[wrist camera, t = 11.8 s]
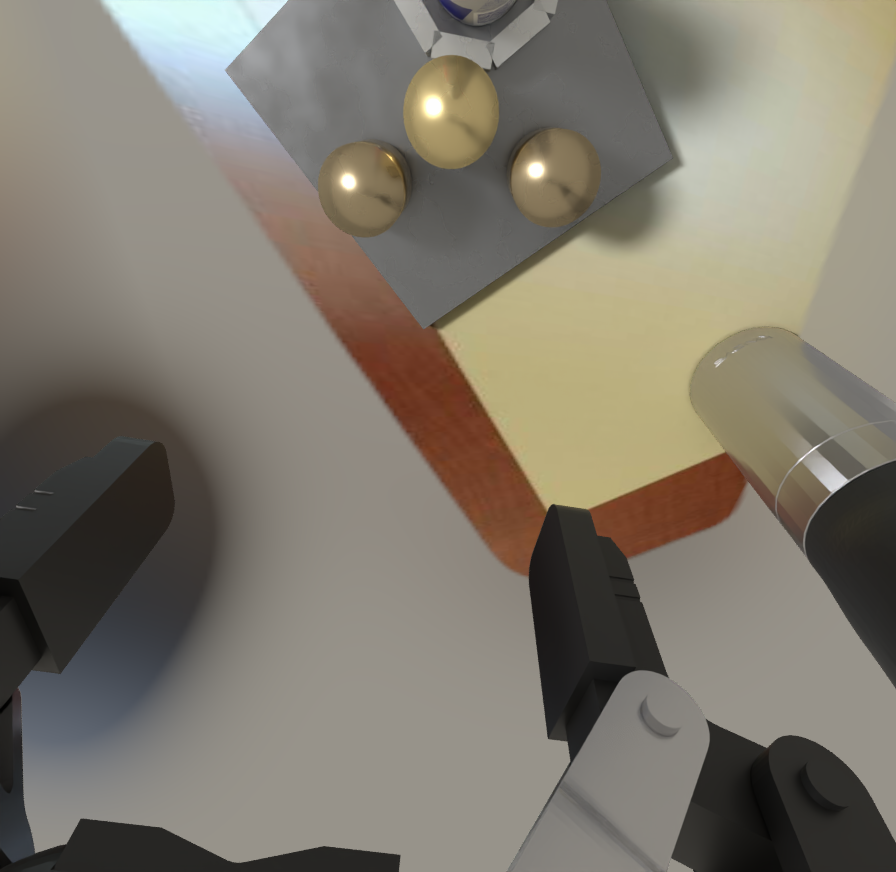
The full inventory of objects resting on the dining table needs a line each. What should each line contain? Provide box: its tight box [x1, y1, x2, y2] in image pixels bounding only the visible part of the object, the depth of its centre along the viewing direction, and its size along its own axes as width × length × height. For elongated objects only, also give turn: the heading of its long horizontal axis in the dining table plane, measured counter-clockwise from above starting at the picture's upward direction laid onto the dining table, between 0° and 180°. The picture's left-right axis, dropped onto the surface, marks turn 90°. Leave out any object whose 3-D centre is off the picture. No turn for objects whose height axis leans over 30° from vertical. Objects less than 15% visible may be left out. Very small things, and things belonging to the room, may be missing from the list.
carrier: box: [225, 0, 673, 329], centre depth 29 cm, size 20×20×7 cm
